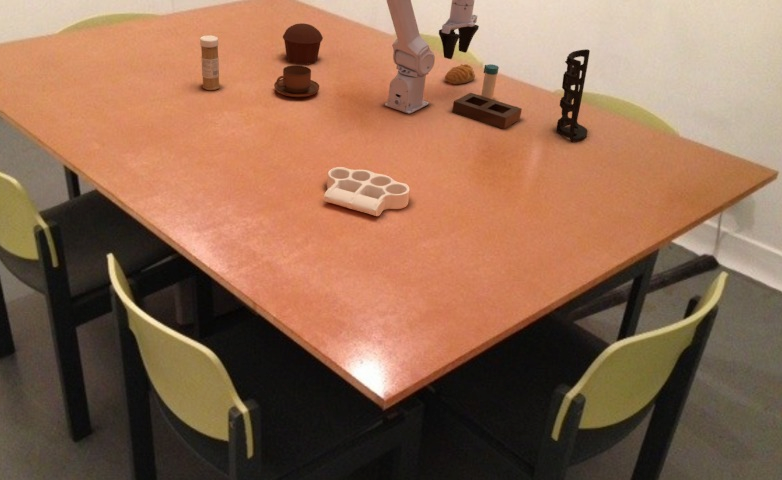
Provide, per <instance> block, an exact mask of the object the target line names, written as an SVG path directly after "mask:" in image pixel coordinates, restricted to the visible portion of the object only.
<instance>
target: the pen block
mask: <svg viewBox="0 0 782 480" xmlns="http://www.w3.org/2000/svg"><path fill="white" fill-rule="evenodd" d="M452 103H453V105H452V111H451V113H454V114H456V115H457V114H458V115H461V116H463V117H466V118H469V119H471V120H475V121H478V122H481V123H484V124H487V125H490V126H493V127H495V128H500V129H502V130H505V129H507V128H508V127H510V126H512V125H513V124H515V123H516V122H518V121H520V120H521V115H522V110H523V108H521V107H518V106H515V105H511V104H508V103H505V102H502V101H499V100H496V99H494V98H493V99H489V98H486V97H483V96H481V95H480V94H476V93H473V92H468V93H467V94H464V95H463V96H461V97H459V98H457V99H455V100H454V101H453V102H452Z"/></svg>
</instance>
